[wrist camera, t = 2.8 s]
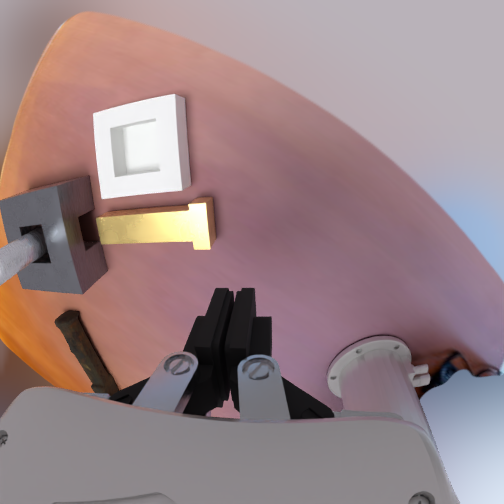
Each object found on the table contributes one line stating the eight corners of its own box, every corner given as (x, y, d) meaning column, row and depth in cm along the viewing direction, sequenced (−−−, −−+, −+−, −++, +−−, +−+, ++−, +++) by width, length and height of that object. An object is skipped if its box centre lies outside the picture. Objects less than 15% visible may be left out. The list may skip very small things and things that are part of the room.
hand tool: (63, 308, 36) (47, 324, 32) (80, 308, 35) (64, 326, 31) (108, 391, 43) (99, 408, 39) (125, 394, 43) (116, 412, 38)
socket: (89, 175, 28) (56, 185, 22) (107, 270, 32) (82, 294, 27) (28, 189, 29) (-2, 201, 23) (47, 269, 33) (22, 288, 28)
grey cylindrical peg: (69, 215, 30) (-4, 255, 18) (74, 239, 31) (6, 286, 19) (53, 217, 30) (-18, 255, 18) (58, 240, 31) (-8, 284, 19)
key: (212, 196, 28) (205, 203, 25) (216, 238, 29) (210, 249, 27) (106, 205, 29) (92, 212, 26) (113, 241, 30) (100, 251, 28)
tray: (185, 98, 24) (175, 93, 21) (191, 185, 27) (182, 190, 25) (108, 114, 25) (93, 113, 22) (116, 193, 28) (101, 199, 25)
